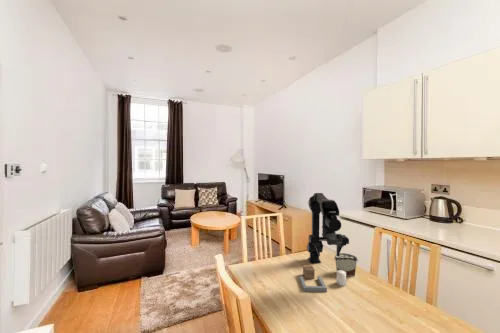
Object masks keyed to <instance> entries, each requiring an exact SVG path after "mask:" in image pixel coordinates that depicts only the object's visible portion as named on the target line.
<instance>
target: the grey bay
mask: <svg viewBox="0 0 500 333" xmlns="http://www.w3.org/2000/svg"><path fill="white" fill-rule="evenodd" d="M298 279H299V283H300V284H301V288H302V290H303V292H313V293H314V292H319V293H320V292H322V293H325V292H326V293H327V292H328V287H327V285H326V284H325V281H324V280H323V279H322V277H321V275H317V281H318V283H319V285H317V286H316V285H307V284H306V282H305V278H304V275H299V278H298Z"/></svg>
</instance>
